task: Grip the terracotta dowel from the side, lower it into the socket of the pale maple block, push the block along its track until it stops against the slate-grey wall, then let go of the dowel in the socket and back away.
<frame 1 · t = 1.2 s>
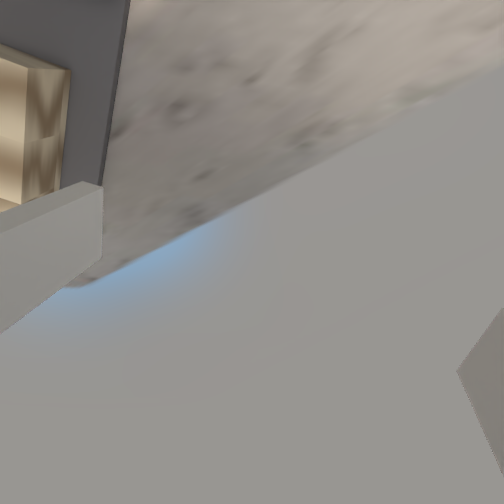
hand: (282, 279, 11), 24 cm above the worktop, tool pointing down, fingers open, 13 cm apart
mat: (23, 87, 31), on the worktop
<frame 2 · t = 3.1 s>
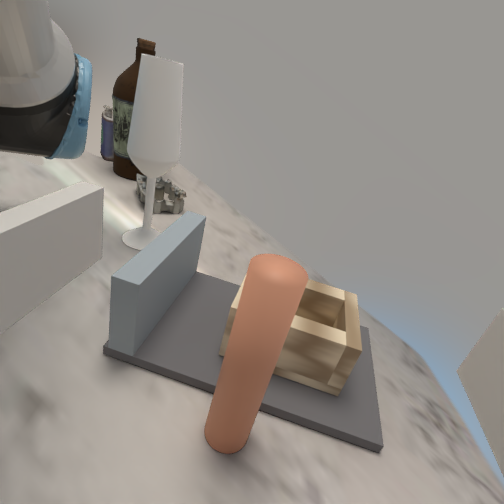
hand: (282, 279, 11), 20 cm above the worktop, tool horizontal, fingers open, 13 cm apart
wall: (164, 273, 36), on the mat, point 5 cm above the worktop
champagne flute: (145, 240, 51), on the worktop
mat: (254, 342, 38), on the worktop
socket block: (291, 322, 35), point 4 cm above the worktop, slide at 0.0 cm
dowel: (226, 431, 28), on the worktop
egg carton: (158, 203, 64), on the worktop
olive oil: (136, 173, 74), on the worktop
flask: (107, 155, 80), on the worktop
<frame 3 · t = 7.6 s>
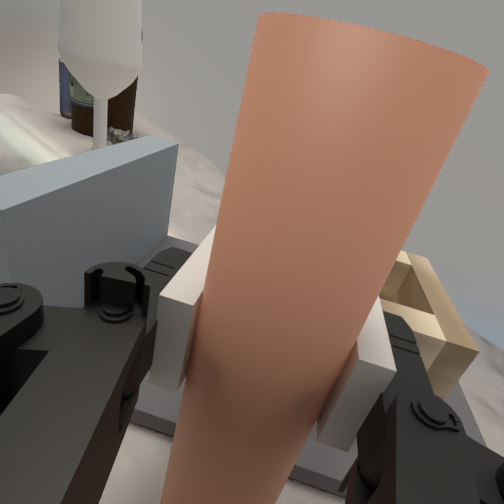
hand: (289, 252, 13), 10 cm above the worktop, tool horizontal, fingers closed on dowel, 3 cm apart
wall: (101, 222, 21), on the mat, point 5 cm above the worktop
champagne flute: (98, 198, 36), on the worktop
mat: (258, 339, 23), on the worktop
socket block: (322, 304, 20), point 4 cm above the worktop, slide at 0.0 cm
egg carton: (125, 162, 49), on the worktop
olive oil: (102, 132, 59), on the worktop
flask: (68, 114, 64), on the worktop
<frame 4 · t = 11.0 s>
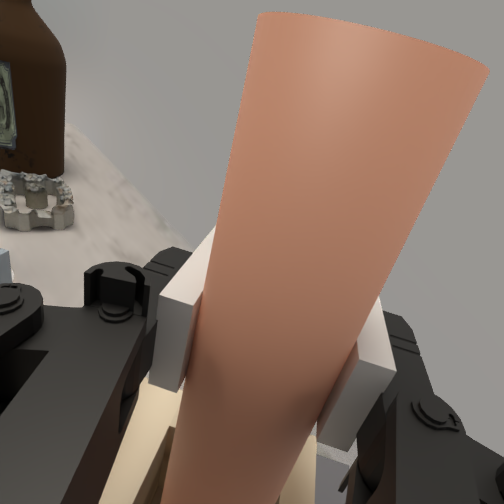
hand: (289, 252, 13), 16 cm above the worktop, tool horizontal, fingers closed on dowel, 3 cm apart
egg carton: (37, 214, 42), on the worktop
olive oil: (28, 170, 52), on the worktop
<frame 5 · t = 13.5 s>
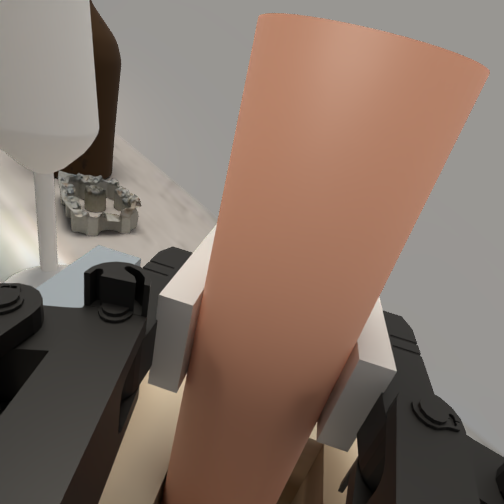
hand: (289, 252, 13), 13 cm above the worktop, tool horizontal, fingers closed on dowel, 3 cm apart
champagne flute: (50, 289, 28), on the worktop
egg carton: (96, 217, 40), on the worktop
olive oil: (76, 171, 50), on the worktop
when the fingers open (13 cm above the worktop, at t = 14.8 s): dowel drops 2 cm, resting on socket block.
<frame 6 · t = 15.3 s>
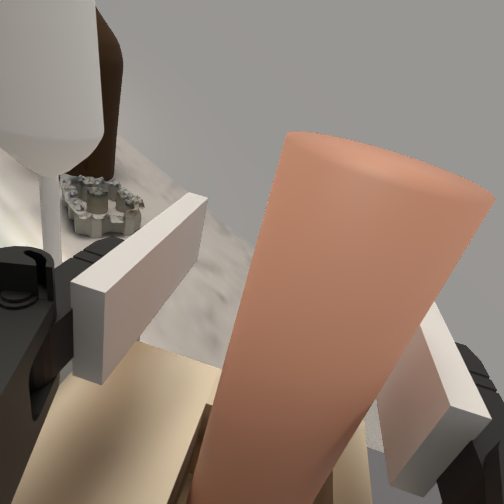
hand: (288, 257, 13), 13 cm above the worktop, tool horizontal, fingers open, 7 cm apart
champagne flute: (54, 291, 28), on the worktop
egg carton: (99, 219, 40), on the worktop
olive oil: (78, 173, 50), on the worktop
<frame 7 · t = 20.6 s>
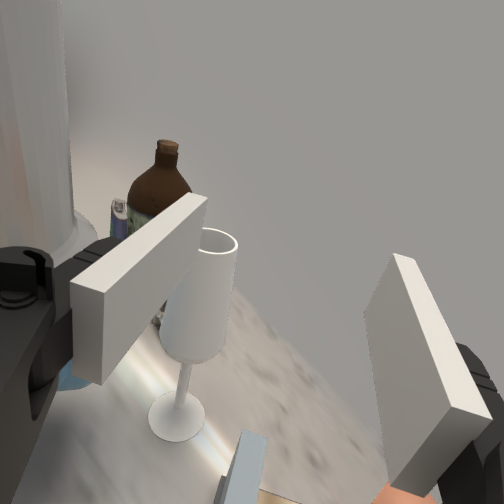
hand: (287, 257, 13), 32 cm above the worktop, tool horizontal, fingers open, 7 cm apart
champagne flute: (176, 416, 41), on the worktop
olive oil: (152, 278, 64), on the worktop
flask: (117, 249, 70), on the worktop
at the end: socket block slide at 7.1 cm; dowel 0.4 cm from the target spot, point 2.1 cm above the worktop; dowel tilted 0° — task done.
